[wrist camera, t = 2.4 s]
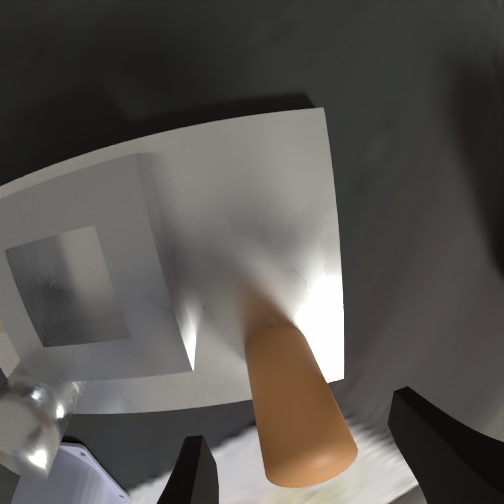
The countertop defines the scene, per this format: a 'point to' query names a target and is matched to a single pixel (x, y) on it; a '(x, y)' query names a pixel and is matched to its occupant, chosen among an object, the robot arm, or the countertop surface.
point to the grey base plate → (197, 271)
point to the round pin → (295, 411)
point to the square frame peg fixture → (119, 268)
